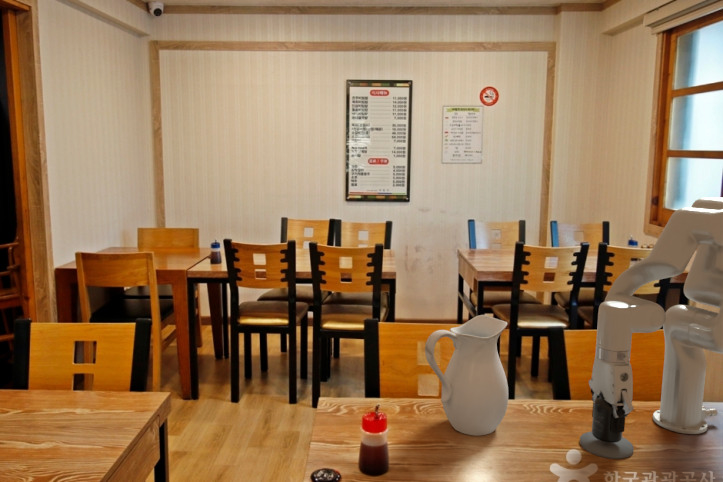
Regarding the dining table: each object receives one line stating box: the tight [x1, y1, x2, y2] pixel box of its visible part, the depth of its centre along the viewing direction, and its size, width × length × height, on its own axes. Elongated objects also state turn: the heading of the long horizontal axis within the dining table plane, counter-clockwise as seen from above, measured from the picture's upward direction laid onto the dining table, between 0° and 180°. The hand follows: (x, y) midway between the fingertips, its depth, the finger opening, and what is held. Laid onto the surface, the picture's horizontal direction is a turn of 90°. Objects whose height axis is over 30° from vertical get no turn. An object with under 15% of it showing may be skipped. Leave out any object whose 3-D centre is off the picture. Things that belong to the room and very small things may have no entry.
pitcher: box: [424, 314, 509, 437], centre depth 148 cm, size 24×17×28 cm
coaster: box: [579, 430, 634, 460], centre depth 141 cm, size 12×12×1 cm
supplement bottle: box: [591, 390, 623, 443], centre depth 140 cm, size 7×7×12 cm
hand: (607, 424), depth 140 cm, fingers closed on supplement bottle, 6 cm apart
